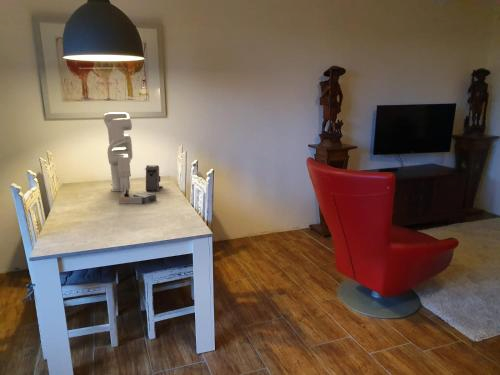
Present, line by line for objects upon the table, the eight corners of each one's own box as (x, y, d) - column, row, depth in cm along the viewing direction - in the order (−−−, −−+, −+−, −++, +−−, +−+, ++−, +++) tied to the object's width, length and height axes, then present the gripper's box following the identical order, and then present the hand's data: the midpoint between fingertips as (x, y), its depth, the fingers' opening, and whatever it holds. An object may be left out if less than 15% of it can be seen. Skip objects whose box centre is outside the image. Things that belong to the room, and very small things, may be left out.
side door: (118, 203, 255) (118, 196, 253) (119, 202, 256) (119, 196, 255) (143, 204, 252) (142, 197, 251) (144, 203, 253) (143, 197, 252)
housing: (133, 201, 260) (133, 193, 258) (145, 197, 268) (144, 190, 266) (145, 204, 252) (145, 196, 251) (157, 200, 260) (156, 193, 259)
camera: (164, 191, 298) (164, 166, 298) (157, 191, 281) (157, 165, 281) (151, 191, 299) (151, 166, 299) (143, 191, 282) (143, 165, 282)
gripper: (120, 172, 259) (123, 197, 264) (116, 177, 245) (119, 203, 249) (132, 171, 260) (134, 197, 265) (128, 176, 246) (131, 203, 250)
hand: (127, 200), depth 257 cm, fingers closed
